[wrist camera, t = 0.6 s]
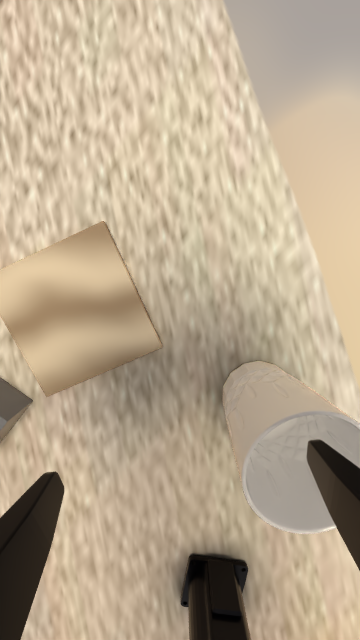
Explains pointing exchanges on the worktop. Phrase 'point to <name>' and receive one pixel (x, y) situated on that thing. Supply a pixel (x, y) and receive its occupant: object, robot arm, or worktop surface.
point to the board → (75, 310)
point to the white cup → (283, 444)
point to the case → (10, 407)
